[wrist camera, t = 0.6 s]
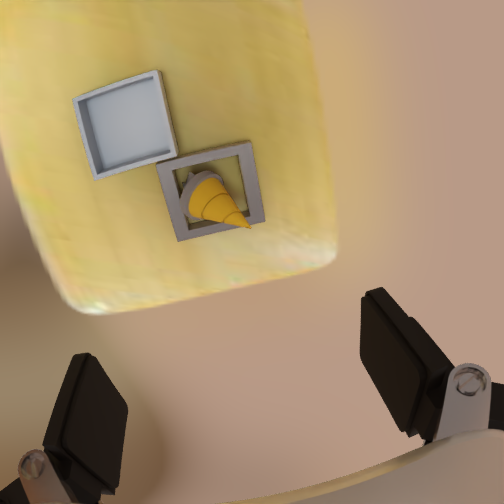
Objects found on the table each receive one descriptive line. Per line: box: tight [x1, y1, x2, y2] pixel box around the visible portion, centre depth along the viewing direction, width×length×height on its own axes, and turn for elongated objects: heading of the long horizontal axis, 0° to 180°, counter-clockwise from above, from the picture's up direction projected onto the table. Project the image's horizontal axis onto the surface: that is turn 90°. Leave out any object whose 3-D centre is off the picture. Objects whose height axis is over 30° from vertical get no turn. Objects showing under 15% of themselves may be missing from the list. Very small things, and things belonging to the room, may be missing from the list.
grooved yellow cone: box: [180, 171, 251, 229], centre depth 32 cm, size 5×5×10 cm
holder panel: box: [156, 140, 265, 242], centre depth 34 cm, size 9×10×2 cm
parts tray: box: [72, 70, 179, 181], centre depth 29 cm, size 9×9×3 cm
